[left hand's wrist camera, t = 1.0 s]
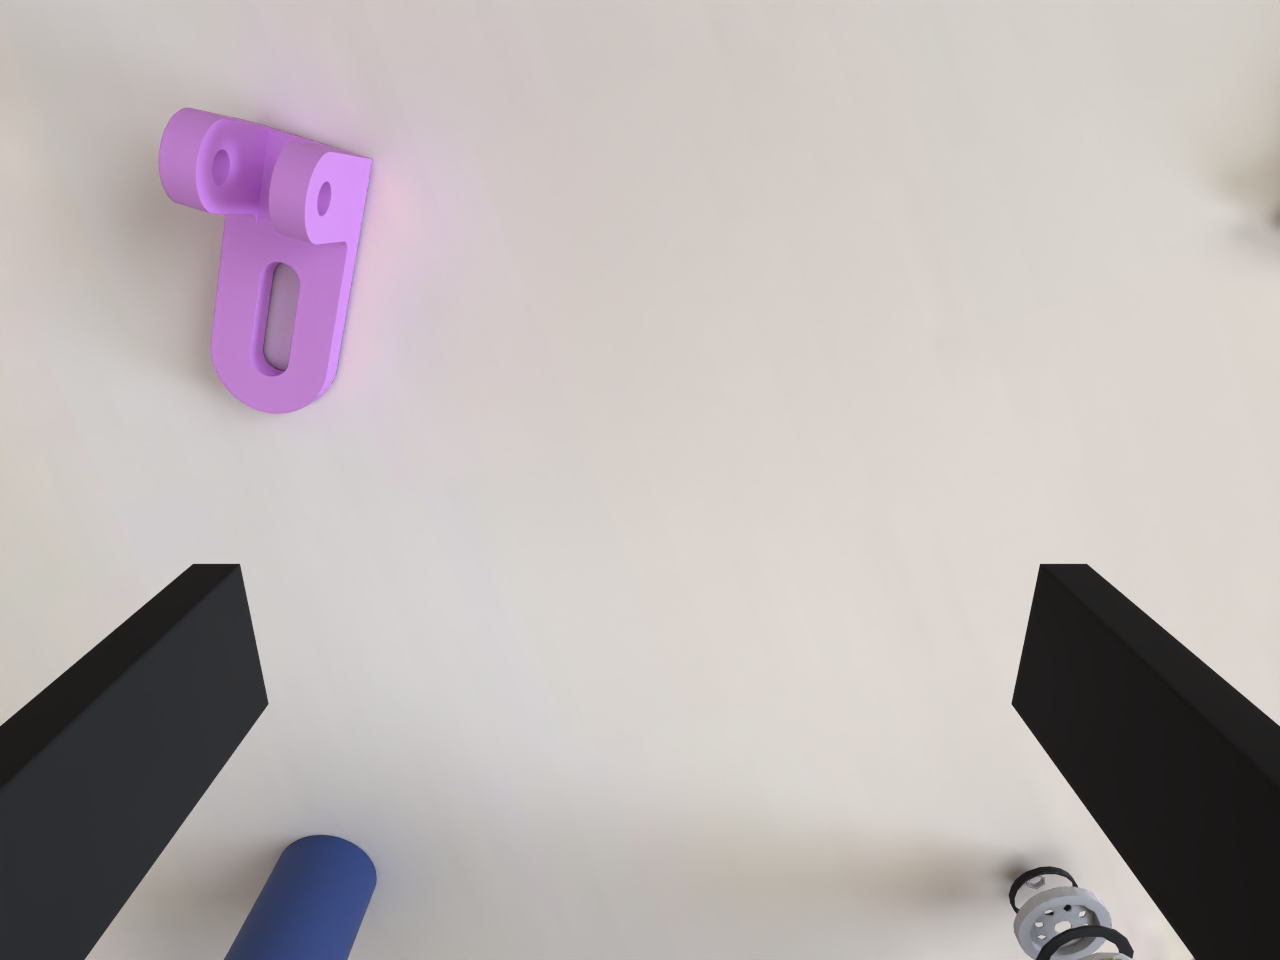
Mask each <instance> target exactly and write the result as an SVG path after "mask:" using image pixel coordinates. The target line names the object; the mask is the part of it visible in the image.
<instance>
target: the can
mask: <svg viewBox="0 0 1280 960" xmlns="http://www.w3.org/2000/svg"><path fill="white" fill-rule="evenodd" d="M375 885H376V871H375V868H374V865H373V863H372V861H371V860H370V858H369V857H368V856H367V855H366V853H364V852H363V851H362V850H361V849H360V848H358V847H357V846H356V845H354V844H352V843H350V842H348V841H346V840H343V839H340V838H337V837H332V836H311V837H306V838H303V839H300V840H298V841H296V842H294V843H293V844H291V845H290V846H289V847H288V848H286V849H285V851H284V852H283V853H282V855H281V857H280V859H279V860H278V862H277V864H276V866H275V868H274V869H273V871H272V873H271V875H270V877H269V879H268V880H267V882H266V884H265V886H264V888H263V890H262V891H261V893H260V895H259V897H258V899H257V900H256V902H255V904H254V906H253V908H252V910H251V911H250V913H249V915H248V917H247V919H246V921H245V922H244V924H243V926H242V928H241V930H240V931H239V933H238V935H237V937H236V939H235V941H234V942H233V944H232V946H231V948H230V950H229V952H228V953H227V955H226V957H225V959H224V960H347V959H348V956H349V954H350V951H351V948H352V946H353V943H354V941H355V938H356V935H357V933H358V930H359V928H360V925H361V922H362V920H363V917H364V915H365V912H366V909H367V907H368V904H369V902H370V899H371V896H372V894H373V891H374V889H375Z"/></svg>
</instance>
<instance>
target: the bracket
mask: <svg viewBox="0 0 1280 960" xmlns="http://www.w3.org/2000/svg"><path fill="white" fill-rule="evenodd" d="M371 165H372V159H370V158H367V157H363V156H360V155H357V154H354V153H351V152H347V151H344V150H341V149H338V148H334V147H331V146H328V145H325V144H322V143H318V142H315V141H312V140H309V139H306V138H302V137H299V136H296V135H293V134H290V133H286V132H283V131H280V130H277V129H274V128H270V127H267V126H264V125H261V124H258V123H254V122H251V121H246V120H242V119H237V118H233V117H228V116H224V115H219V114H215V113H210V112H206V111H201V110H197V109H192V108H184V109H181V110H179V111H178V112H176V113H175V114H174V115H173V117H172V118H171V119H170V121H169V122H168V124H167V126H166V128H165V131H164V133H163V136H162V140H161V145H160V151H159V172H160V178H161V182H162V185H163V188H164V190H165V192H166V194H167V195H168V196H169V198H170V199H171V200H173V201H174V202H176V203H179V204H182V205H185V206H189V207H192V208H195V209H199V210H202V211H205V212H209V213H212V214H226V216H225V225H224V234H223V243H222V251H221V260H220V269H219V278H218V286H217V295H216V304H215V313H214V322H213V330H212V339H211V355H212V361H213V364H214V367H215V370H216V372H217V374H218V376H219V378H220V380H221V381H222V383H223V384H224V386H225V387H226V388H227V389H228V390H229V391H230V393H231V394H232V395H234V396H235V397H236V398H237V399H238V400H240V401H241V402H243V403H244V404H246V405H248V406H250V407H252V408H254V409H257V410H260V411H263V412H268V413H288V412H293V411H296V410H298V409H301V408H303V407H305V406H306V405H308V404H310V403H311V402H313V401H315V400H316V399H318V398H319V397H321V396H322V395H323V394H324V393H325V392H326V391H327V390H328V388H329V387H330V385H331V384H332V382H333V380H334V377H335V375H336V371H337V365H338V360H339V354H340V348H341V342H342V336H343V330H344V324H345V318H346V312H347V307H348V301H349V295H350V289H351V283H352V277H353V271H354V265H355V260H356V254H357V248H358V242H359V236H360V230H361V224H362V218H363V212H364V207H365V201H366V195H367V189H368V183H369V177H370V171H371ZM279 263H285V264H287V265H288V266H290V267H291V268H292V269H293V270H294V271H295V272H296V274H297V276H298V278H299V282H300V289H299V296H298V303H297V309H296V316H295V323H294V330H293V336H292V343H291V350H290V357H289V363H288V367H287V369H286V370H285V371H281V370H277V369H275V368H273V367H272V366H271V365H270V364H269V363H268V362H267V361H266V359H265V357H264V354H263V345H264V338H265V330H266V323H267V316H268V308H269V301H270V294H271V286H272V279H273V273H274V270H275V268H276V266H277V265H278V264H279Z"/></svg>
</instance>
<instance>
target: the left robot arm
mask: <svg viewBox="0 0 1280 960" xmlns="http://www.w3.org/2000/svg"><path fill="white" fill-rule="evenodd" d="M267 705H268V699H267V694H266V689H265V685H264V680H263V675H262V670H261V665H260V660H259V655H258V650H257V645H256V641H255V636H254V631H253V626H252V621H251V616H250V611H249V606H248V601H247V596H246V592H245V587H244V582H243V577H242V572H241V567H240V564H193V565H191V566H190V567H189V568H188V569H187V570H185V571H184V572H183V573H182V574H181V575H179V576H178V577H177V578H176V579H175V580H174V581H172V582H171V583H170V584H169V585H168V586H166V587H165V588H164V589H163V590H162V591H160V592H159V593H158V594H157V595H156V596H155V597H153V598H152V599H151V600H150V601H149V602H147V603H146V604H145V605H144V606H143V607H141V608H140V609H139V610H138V611H137V612H136V613H134V614H133V615H132V616H131V617H130V618H128V619H127V620H126V621H125V622H124V623H122V624H121V625H120V626H119V627H118V628H117V629H115V630H114V631H113V632H112V633H111V634H109V635H108V636H107V637H106V638H105V639H103V640H102V641H101V642H100V643H99V644H98V645H96V646H95V647H94V648H93V649H92V650H90V651H89V652H88V653H87V654H86V655H84V656H83V657H82V658H81V659H80V660H79V661H77V662H76V663H75V664H74V665H73V666H71V667H70V668H69V669H68V670H67V671H65V672H64V673H63V674H62V675H61V676H60V677H58V678H57V679H56V680H55V681H54V682H52V683H51V684H50V685H49V686H48V687H46V688H45V689H44V690H43V691H42V692H40V693H39V694H38V695H37V696H36V697H35V698H33V699H32V700H31V701H30V702H29V703H27V704H26V705H25V706H24V707H23V708H21V709H20V710H19V711H18V712H17V713H16V714H14V715H13V716H12V717H11V718H10V719H8V720H7V721H6V722H5V723H4V724H2V725H1V726H0V960H85V958H86V957H87V955H88V954H89V953H90V951H91V950H92V948H93V947H94V946H95V944H96V943H97V941H98V940H99V939H100V937H101V936H102V935H103V933H104V932H105V930H106V929H107V928H108V926H109V925H110V923H111V922H112V921H113V919H114V918H115V916H116V915H117V914H118V912H119V911H120V910H121V908H122V907H123V905H124V904H125V903H126V901H127V900H128V898H129V897H130V896H131V894H132V893H133V891H134V890H135V889H136V887H137V886H138V885H139V883H140V882H141V880H142V879H143V878H144V876H145V875H146V873H147V872H148V871H149V869H150V868H151V866H152V865H153V864H154V862H155V861H156V860H157V858H158V857H159V855H160V854H161V853H162V851H163V850H164V848H165V847H166V846H167V844H168V843H169V841H170V840H171V839H172V837H173V836H174V835H175V833H176V832H177V830H178V829H179V828H180V826H181V825H182V823H183V822H184V821H185V819H186V818H187V816H188V815H189V814H190V812H191V811H192V810H193V808H194V807H195V805H196V804H197V803H198V801H199V800H200V798H201V797H202V796H203V794H204V793H205V791H206V790H207V789H208V787H209V786H210V785H211V783H212V782H213V780H214V779H215V778H216V776H217V775H218V773H219V772H220V771H221V769H222V768H223V766H224V765H225V764H226V762H227V761H228V760H229V758H230V757H231V755H232V754H233V753H234V751H235V750H236V748H237V747H238V746H239V744H240V743H241V741H242V740H243V739H244V737H245V736H246V735H247V733H248V732H249V730H250V729H251V728H252V726H253V725H254V723H255V722H256V721H257V719H258V718H259V716H260V715H261V714H262V712H263V711H264V709H265V708H266V707H267ZM1012 705H1013V707H1014V708H1015V710H1016V711H1017V712H1018V714H1019V715H1020V716H1021V718H1022V719H1023V721H1024V722H1025V723H1026V725H1027V726H1028V728H1029V729H1030V730H1031V732H1032V733H1033V735H1034V736H1035V737H1036V739H1037V740H1038V741H1039V743H1040V744H1041V746H1042V747H1043V748H1044V750H1045V751H1046V753H1047V754H1048V755H1049V757H1050V758H1051V760H1052V761H1053V762H1054V764H1055V765H1056V766H1057V768H1058V769H1059V771H1060V772H1061V773H1062V775H1063V776H1064V778H1065V779H1066V780H1067V782H1068V783H1069V785H1070V786H1071V787H1072V789H1073V790H1074V791H1075V793H1076V794H1077V796H1078V797H1079V798H1080V800H1081V801H1082V803H1083V804H1084V805H1085V807H1086V808H1087V810H1088V811H1089V812H1090V814H1091V815H1092V816H1093V818H1094V819H1095V821H1096V822H1097V823H1098V825H1099V826H1100V828H1101V829H1102V830H1103V832H1104V833H1105V835H1106V836H1107V837H1108V839H1109V840H1110V841H1111V843H1112V844H1113V846H1114V847H1115V848H1116V850H1117V851H1118V853H1119V854H1120V855H1121V857H1122V858H1123V860H1124V861H1125V862H1126V864H1127V865H1128V866H1129V868H1130V869H1131V871H1132V872H1133V873H1134V875H1135V876H1136V878H1137V879H1138V880H1139V882H1140V883H1141V885H1142V886H1143V887H1144V889H1145V890H1146V891H1147V893H1148V894H1149V896H1150V897H1151V898H1152V900H1153V901H1154V903H1155V904H1156V905H1157V907H1158V908H1159V910H1160V911H1161V912H1162V914H1163V915H1164V916H1165V918H1166V919H1167V921H1168V922H1169V923H1170V925H1171V926H1172V928H1173V929H1174V930H1175V932H1176V933H1177V935H1178V936H1179V937H1180V939H1181V940H1182V941H1183V943H1184V944H1185V946H1186V947H1187V948H1188V950H1189V951H1190V953H1191V954H1192V955H1193V957H1194V958H1195V960H1280V726H1279V725H1278V724H1276V723H1275V722H1274V721H1273V720H1272V719H1270V718H1269V717H1268V716H1267V715H1266V714H1264V713H1263V712H1262V711H1261V710H1260V709H1259V708H1257V707H1256V706H1255V705H1254V704H1253V703H1251V702H1250V701H1249V700H1248V699H1247V698H1245V697H1244V696H1243V695H1242V694H1241V693H1240V692H1238V691H1237V690H1236V689H1235V688H1234V687H1232V686H1231V685H1230V684H1229V683H1228V682H1226V681H1225V680H1224V679H1223V678H1222V677H1220V676H1219V675H1218V674H1217V673H1216V672H1215V671H1213V670H1212V669H1211V668H1210V667H1209V666H1207V665H1206V664H1205V663H1204V662H1203V661H1201V660H1200V659H1199V658H1198V657H1197V656H1196V655H1194V654H1193V653H1192V652H1191V651H1190V650H1188V649H1187V648H1186V647H1185V646H1184V645H1182V644H1181V643H1180V642H1179V641H1178V640H1177V639H1175V638H1174V637H1173V636H1172V635H1171V634H1169V633H1168V632H1167V631H1166V630H1165V629H1163V628H1162V627H1161V626H1160V625H1159V624H1158V623H1156V622H1155V621H1154V620H1153V619H1152V618H1150V617H1149V616H1148V615H1147V614H1146V613H1144V612H1143V611H1142V610H1141V609H1140V608H1139V607H1137V606H1136V605H1135V604H1134V603H1133V602H1131V601H1130V600H1129V599H1128V598H1127V597H1125V596H1124V595H1123V594H1122V593H1121V592H1120V591H1118V590H1117V589H1116V588H1115V587H1114V586H1112V585H1111V584H1110V583H1109V582H1108V581H1106V580H1105V579H1104V578H1103V577H1102V576H1100V575H1099V574H1098V573H1097V572H1096V571H1095V570H1093V569H1092V568H1091V567H1090V566H1089V565H1087V564H1040V567H1039V572H1038V577H1037V582H1036V587H1035V592H1034V596H1033V601H1032V606H1031V611H1030V616H1029V621H1028V626H1027V631H1026V636H1025V641H1024V645H1023V650H1022V655H1021V660H1020V665H1019V670H1018V675H1017V680H1016V685H1015V689H1014V694H1013V699H1012Z"/></svg>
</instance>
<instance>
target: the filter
mask: <svg viewBox="0 0 1280 960" xmlns="http://www.w3.org/2000/svg"><path fill="white" fill-rule="evenodd" d="M1044 874H1057V875H1061V876H1064V877H1066V878H1068V879H1069V880H1070V881H1071V882H1072V885H1073V887H1058V888H1053V889H1050V890H1047V891H1044V892H1041V893H1039V894H1037V895H1035V896H1034V897H1032V898H1030V899H1029V900H1028V901H1027V902H1026V903H1025V904H1024V905H1023V906H1022V907H1021V908H1020V909H1018V908H1017V907H1015V896H1016V893H1017V891H1018V890H1019V888H1020V887H1021V886H1022V885H1023V884H1024V883H1025V882H1026V884H1027V886H1028V887H1030V888H1034V889H1038V888H1040V887H1041V886H1043V885H1044V884H1045V878H1044V876H1043V875H1044ZM1036 876H1040V877H1041V880H1040V881H1039V882H1038V883H1035V884H1030V883H1029V880H1030V879H1032V878H1034V877H1036ZM1009 899H1010V903H1011V905H1012V907H1013V909H1014V911H1015V912H1016V913H1017V915H1016V918H1015V921H1014V933H1015V935H1016V938H1017V940H1018V942H1019V944H1020V946H1021V947H1022V949H1023V950H1024V952H1025V953H1026V954H1027V955H1029V956H1030V957H1031V958H1033V959H1035V960H1133V959H1132V957H1133V952H1134V951H1133V949H1132V947H1131V945H1130V943H1129V942H1128V940H1127V938H1126V937H1124V936H1123V935H1122V934H1120V933H1119V932H1118V931H1116V930H1114V929H1111V917H1110V914H1109V912H1108V910H1107V909H1106V907H1105V906H1104V904H1103V903H1102V901H1101V900H1100V899H1099V898H1098V897H1097V896H1096V895H1095V894H1094V893H1092V892H1090V891H1088V890H1085V889H1082V888H1078V886H1077V884H1076V882H1075V881H1074V879H1073V878H1072V876H1071V875H1070V874H1069V873H1068V872H1066V871H1064V870H1062V869H1060V868H1055V867H1050V866H1049V867H1039V868H1036V869H1033V870H1030V871H1027V872H1025V873H1024V874H1022V875H1021V876H1020V877H1019V878H1017V879H1016V880H1015V882H1014V883H1013V885H1012V886H1011V889H1010V892H1009ZM1047 910H1054V911H1053V912H1050V913H1048V914H1045V911H1047ZM1081 911H1086V913H1085V915H1084V916H1082V917H1079V913H1080V912H1081ZM1061 921H1069V922H1070V923H1071V928H1070V929H1068V930H1066V931H1064V932H1062V933H1059V932H1057V931H1055V930H1054V928H1055V924H1057V923H1059V922H1061ZM1035 922H1042V923H1043V926H1042V927H1039V928H1038V927H1037V926H1036V925H1035ZM1084 924H1088V925H1084ZM1083 925H1084V926H1083ZM1040 935H1044V936H1047V937H1045V938H1044V939H1040V938H1038V936H1040ZM1074 939H1075V940H1074ZM1106 939H1107V940H1108V941H1110V942H1112V943H1114V944H1116V946H1117V947H1118V949H1119V953H1095V954H1092V953H1093V952H1095V951H1096V950H1097V949H1099V948H1100V947H1101V945H1102V944H1103V943H1104V942H1105V941H1106ZM1091 954H1092V955H1091Z"/></svg>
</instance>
